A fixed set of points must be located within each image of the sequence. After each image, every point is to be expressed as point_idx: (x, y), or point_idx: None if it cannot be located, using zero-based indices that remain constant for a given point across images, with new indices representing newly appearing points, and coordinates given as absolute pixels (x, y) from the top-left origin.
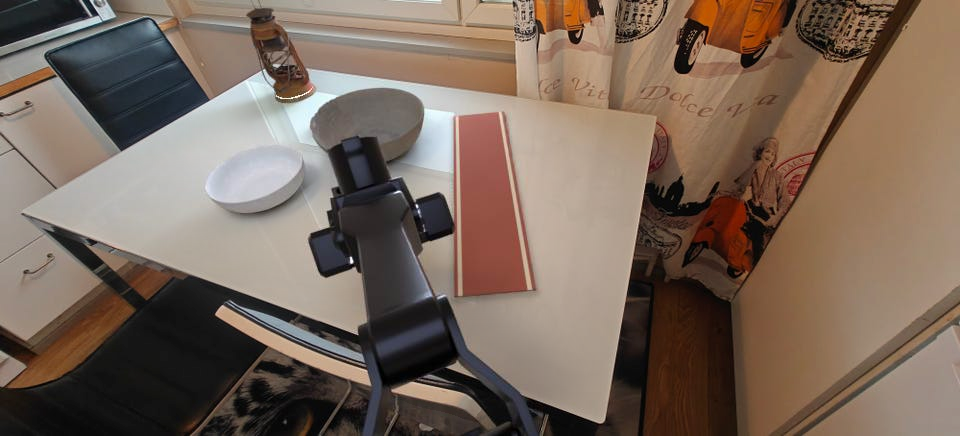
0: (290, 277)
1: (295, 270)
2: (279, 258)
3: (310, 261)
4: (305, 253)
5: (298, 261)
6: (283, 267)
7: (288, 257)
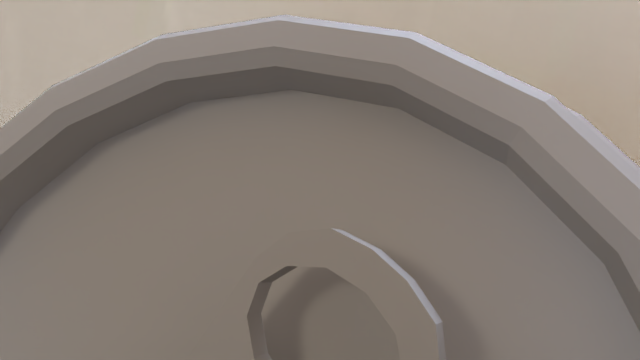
0: (19, 104)
1: (41, 77)
2: (7, 4)
3: (94, 51)
4: (87, 6)
5: (58, 38)
6: (10, 50)
7: (33, 8)
